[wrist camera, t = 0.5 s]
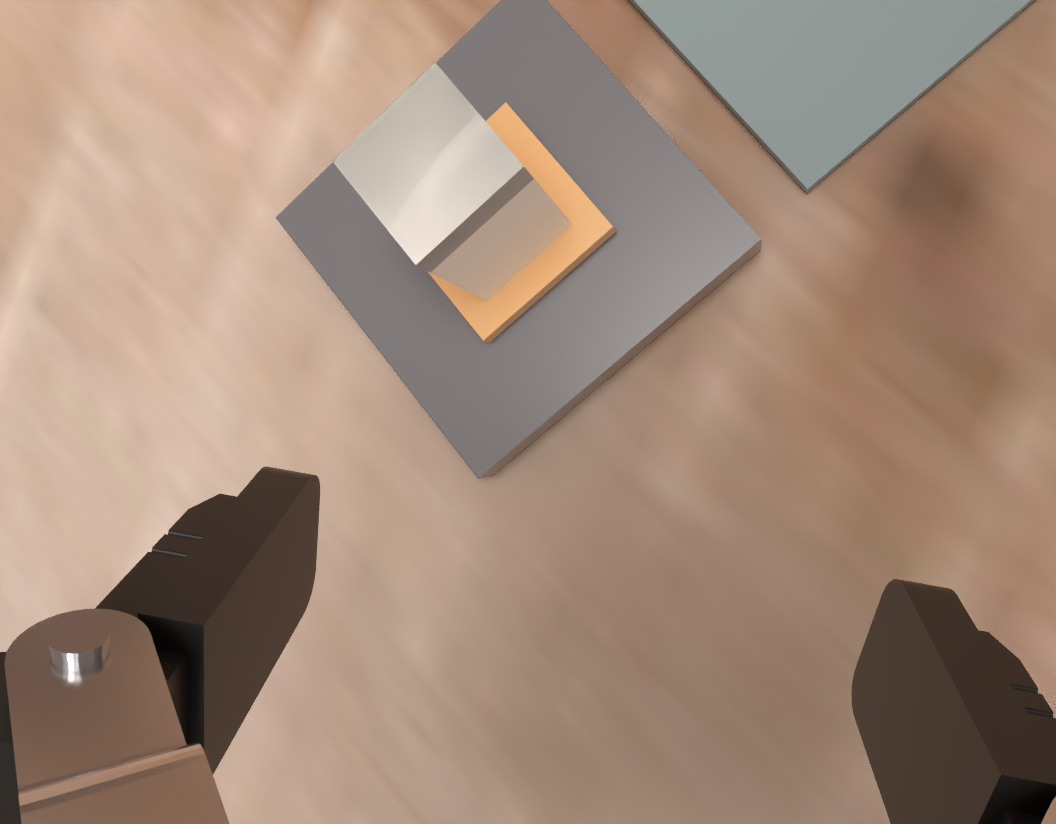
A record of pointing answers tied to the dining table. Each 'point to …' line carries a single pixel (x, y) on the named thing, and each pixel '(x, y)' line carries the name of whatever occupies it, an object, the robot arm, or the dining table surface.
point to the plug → (473, 201)
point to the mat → (823, 64)
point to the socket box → (581, 296)
